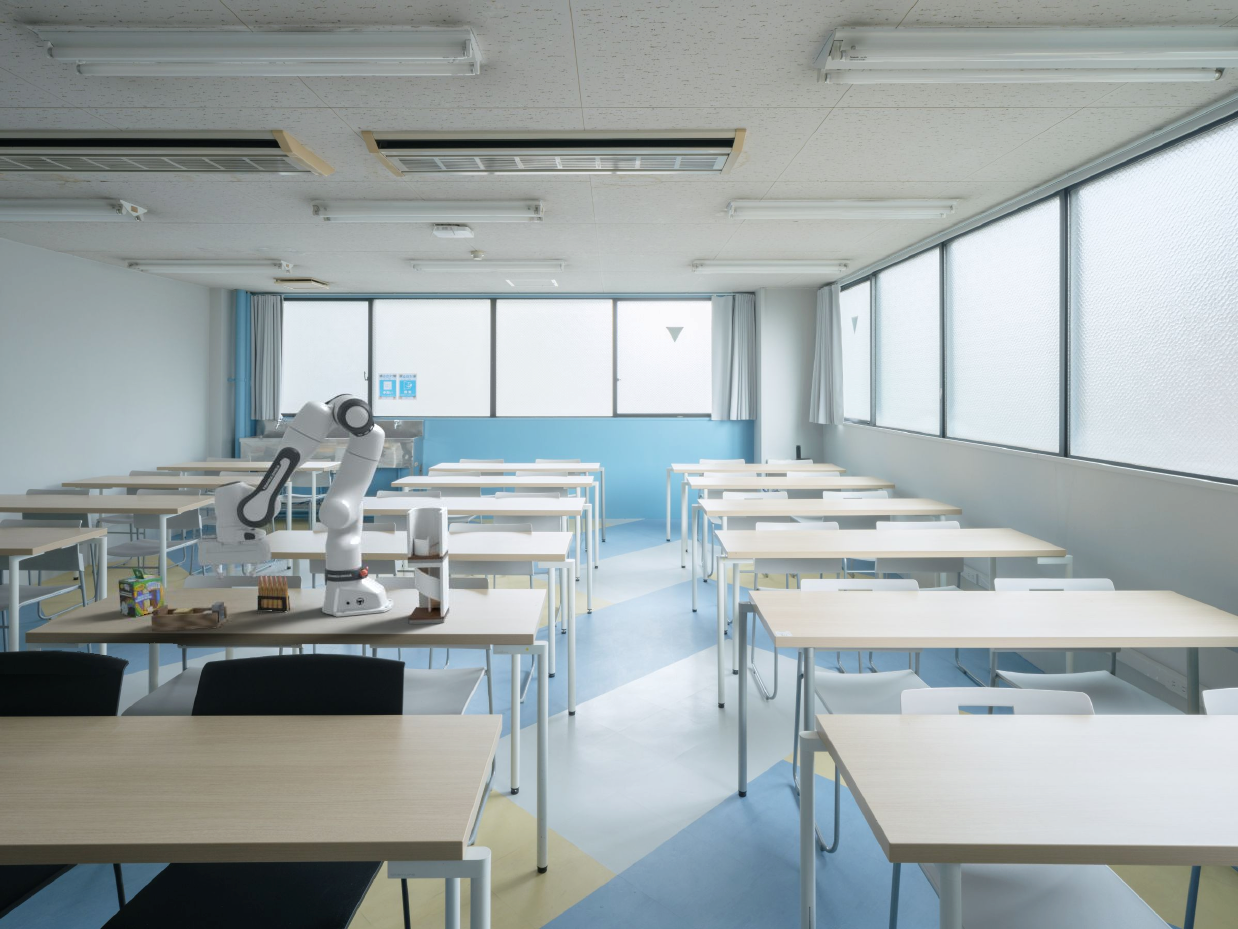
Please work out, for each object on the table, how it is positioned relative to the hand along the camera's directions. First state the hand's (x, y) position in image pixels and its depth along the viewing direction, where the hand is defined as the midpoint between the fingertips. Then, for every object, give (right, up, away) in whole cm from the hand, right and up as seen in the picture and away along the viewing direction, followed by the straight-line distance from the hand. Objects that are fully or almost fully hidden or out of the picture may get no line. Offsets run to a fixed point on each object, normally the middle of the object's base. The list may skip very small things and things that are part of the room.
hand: (236, 577), depth 212 cm
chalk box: (-38, -14, +12) cm, 42 cm away
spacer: (-15, -14, -2) cm, 20 cm away
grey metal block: (-7, -13, -1) cm, 15 cm away
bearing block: (-13, -14, -2) cm, 20 cm away
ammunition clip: (+4, -14, +15) cm, 20 cm away
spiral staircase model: (+58, -14, +7) cm, 60 cm away
